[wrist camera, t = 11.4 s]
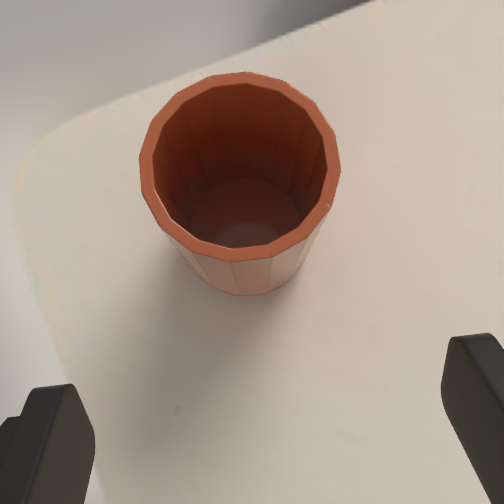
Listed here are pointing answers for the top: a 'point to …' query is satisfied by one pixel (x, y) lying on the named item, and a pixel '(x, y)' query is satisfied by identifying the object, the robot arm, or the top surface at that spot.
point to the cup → (240, 178)
